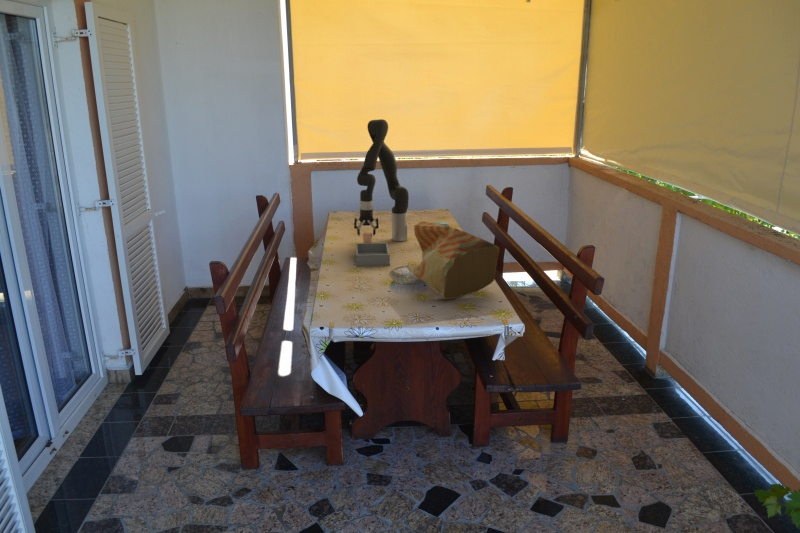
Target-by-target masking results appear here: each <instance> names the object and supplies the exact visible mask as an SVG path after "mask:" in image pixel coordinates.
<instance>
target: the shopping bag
mask: <svg viewBox="0 0 800 533" xmlns="http://www.w3.org/2000/svg"><path fill="white" fill-rule="evenodd" d="M434 223H435V222H427V221H423V220H421V221H419V222H418V223H416V224H414V225H413V226H414V227H413V228H414V229H413V231H414V236H415V238H416V241H417V242H418V244H419V247H420V249H421V252H422V253H421V254H422V255H421V259H422V260H421V261H420V263H419V264H418V263H411V262H409V263H407V264H406V265H405V266H406V268H407V270H408V271H409V272H410V271H411V272H410V273H411V274H412V275H413V276H415V277H416V278H418V279H419V280H421V281H422V282H424V283H425V284H426V285H427V286H429V288H431V289H433V291H435V292H437V293H438V294H439V295H440V296H442V297H443V299H446V300H451V299H457V298H461V297H463V296H467V295H469V294H473V293H476V292H479V291H480V290H482V289H484V288H486V287H487V286H489V285H491V284H492V283H493V282H494V281H495V279H496V277H495V276H496V272H497V266H498V259H499V253H500V249H501V248H500V247H499V246H497V245H496V244H495V243H492V242H490V241H488V240H485V239H483V238H480V236H479V237H478V236H476V235H473V234H471V233H468V232H466V231H464V230H461V229H458V228H456V227H451V226H449V227H448V226H443V225H439V224H434Z"/></svg>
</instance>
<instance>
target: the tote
mask: <svg viewBox="0 0 800 533" xmlns="http://www.w3.org/2000/svg"><path fill="white" fill-rule="evenodd" d="M388 244H389V243H388V242H372V243H363V242H362V243H358V242H357V243H355V259H356V260H355V262H356V264H355V266H356V267H371V266H372V267H375V266H379V267H380V266H390V265H391V255H390V250H389V245H388Z"/></svg>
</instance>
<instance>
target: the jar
mask: <svg viewBox="0 0 800 533" xmlns="http://www.w3.org/2000/svg"><path fill="white" fill-rule="evenodd" d="M362 235H363V236H362V238H363V239H362V243H373V232H364V233H362Z"/></svg>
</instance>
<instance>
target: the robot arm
mask: <svg viewBox="0 0 800 533" xmlns="http://www.w3.org/2000/svg"><path fill="white" fill-rule="evenodd" d="M388 131H389V123H388V121H387V120H386V119H382V118H381V119H372V120H369V121H368V122H367V132H368V134H369V136H370V139H371V141H372V143H371V146H370V147H369V149H368V150H367V152H366V154H365V157H364V162H363V165H362V167H361V169H360V171H359V173H358V175H357V177H356V180H357V184H358V185H359V186H362V187H366V189H363V190H360V194H359V195H360V196H359V197H360V198H359V199H360V200H359V218H358V217H354V220H353V221H354V223H353V229H356V233H357V235H358V237H359V236H360V235H361V233H360V232H361V231H360V229H361V228H362V226H365V227H366V226H371V228H372V237H373V236H375V235H376V230H377V229H379V218H378V217H374V202H373V193H374V188H375V185H376V181H377V180H376V177H375V175H374V174H371V173H369V172H373V171H375V170H376V167H377V164H378V163H377V162H378V160H379V164H380V166H381V169H382V172H383V175H384V178H385V181H386V184H387V189H388V194H389V197H390V199H391V200H394V206H393V207H391V240H392V241H393V242H394V241H395V242H405V241H406V242H407V241H408V221H407V220H408V213H407V212H408V208H409V194H410V193H409V190H408V189H407V188H406V187H405V186H402V185H401V184H400V182H399V179H398V176H397V174H398V172H397V171H398V164H397V163H398V162H397V160H396V157H395V154H394V152H393V151H392V150H391V149H390V147H389V146H388V145H387V144H386V143H385V140H386V137H387V135H388ZM358 222H359V224H358V225H357V223H358ZM374 222H375V223H376V224H374Z"/></svg>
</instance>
